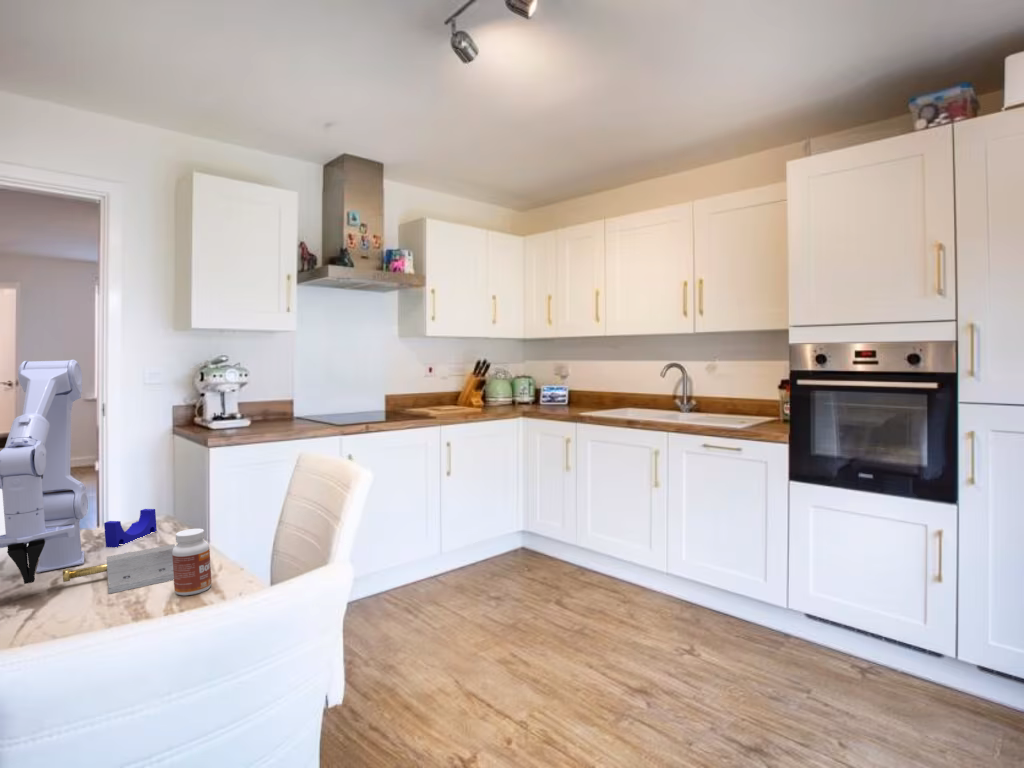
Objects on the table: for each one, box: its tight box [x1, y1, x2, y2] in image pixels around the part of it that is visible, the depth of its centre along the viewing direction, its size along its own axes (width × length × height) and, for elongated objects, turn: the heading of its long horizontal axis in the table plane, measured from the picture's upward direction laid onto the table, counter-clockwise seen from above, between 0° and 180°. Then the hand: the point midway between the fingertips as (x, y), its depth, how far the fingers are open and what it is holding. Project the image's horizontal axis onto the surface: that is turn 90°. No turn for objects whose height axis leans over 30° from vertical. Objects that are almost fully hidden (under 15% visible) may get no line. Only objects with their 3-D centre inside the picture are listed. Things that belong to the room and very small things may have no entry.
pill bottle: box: [172, 528, 212, 597], centre depth 110 cm, size 6×6×11 cm
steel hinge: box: [105, 543, 176, 594], centre depth 121 cm, size 12×20×4 cm, turn 35°
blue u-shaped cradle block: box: [103, 508, 158, 548], centre depth 143 cm, size 12×4×6 cm, turn 170°
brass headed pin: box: [62, 563, 107, 583], centre depth 117 cm, size 13×2×2 cm, turn 125°
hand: (29, 581), depth 110 cm, fingers closed
